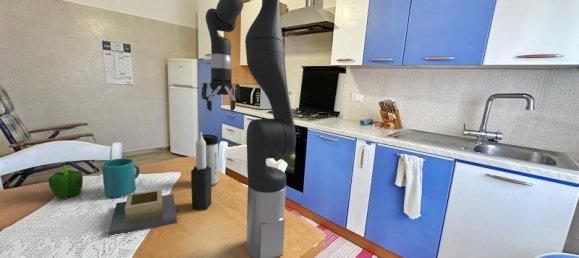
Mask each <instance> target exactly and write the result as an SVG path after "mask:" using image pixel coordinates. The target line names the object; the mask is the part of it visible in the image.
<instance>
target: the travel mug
mask: <svg viewBox="0 0 579 258" xmlns="http://www.w3.org/2000/svg"><path fill="white" fill-rule="evenodd" d="M202 136H203V139H204V141H205V142H206V165H207V166H209V167H210V168H211V187H214V186H217V185H218V183H219V138H218V136H217V135H215V134H202Z"/></svg>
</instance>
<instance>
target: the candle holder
mask: <svg viewBox="0 0 579 258" xmlns="http://www.w3.org/2000/svg"><path fill="white" fill-rule="evenodd" d="M162 191H163V190H162V189H159V188H158V189H153V190H148V191H140V192H133V193H132V194H128V195H127V196H126V201H120V202H117V203H116V204H115V208H114V211H113V215H112V218H111V221H110V225H109V228H108V231H107V233H108V237H109V236H110V235H115V234H121V233H126V234H129V233H128V232H130V233H134V232H133V231H135V232H138V231H137V230H140V231H144V230H148V229H149V230H150V229H154V228H158V227H162V226H169V225H172V224H177V223H178V218H177V212H176V204H175V199H174V198H175V197H174V194H170V193H169V194H166V195H163V194H162ZM121 235H122V234H121Z"/></svg>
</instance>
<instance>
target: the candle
mask: <svg viewBox="0 0 579 258" xmlns="http://www.w3.org/2000/svg"><path fill="white" fill-rule="evenodd" d="M198 134H199V135H198V138H197V140H196V142H195V158H196V159H195V162H196V164H195V166H194V167H193V169H192V170H190V175H191V176H190V177H191V178H190V179H191V209H192V210H200V211H206V210H208V209H209V207H210V206H211V205H212V186H211V168H210V167H209V166H207V165H206V142H205V141H204V139H203V136H202V135H203V133H202V131H200V132H198Z"/></svg>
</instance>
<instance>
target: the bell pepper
mask: <svg viewBox="0 0 579 258" xmlns="http://www.w3.org/2000/svg"><path fill="white" fill-rule="evenodd" d="M62 169H63V171H56V172H55V173H53V175H51V176H49V178H48V187H49V188H50V190H51V193H52V194H53V196H54V197H56V198H57V199H59V198H63V199H66V198H65V197H68V198H69V197H74V196H73V195H75V196H77V195H76V194H78V193H79V194H80V193H81V192H82V188H83V184H84V183H83V182H84V181H83V180H84V179H83V178H84V177H83V172H82V171H81V170H72V169H68V166H67V165H66V164H65V165H63V166H62ZM79 194H78V195H79Z"/></svg>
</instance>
